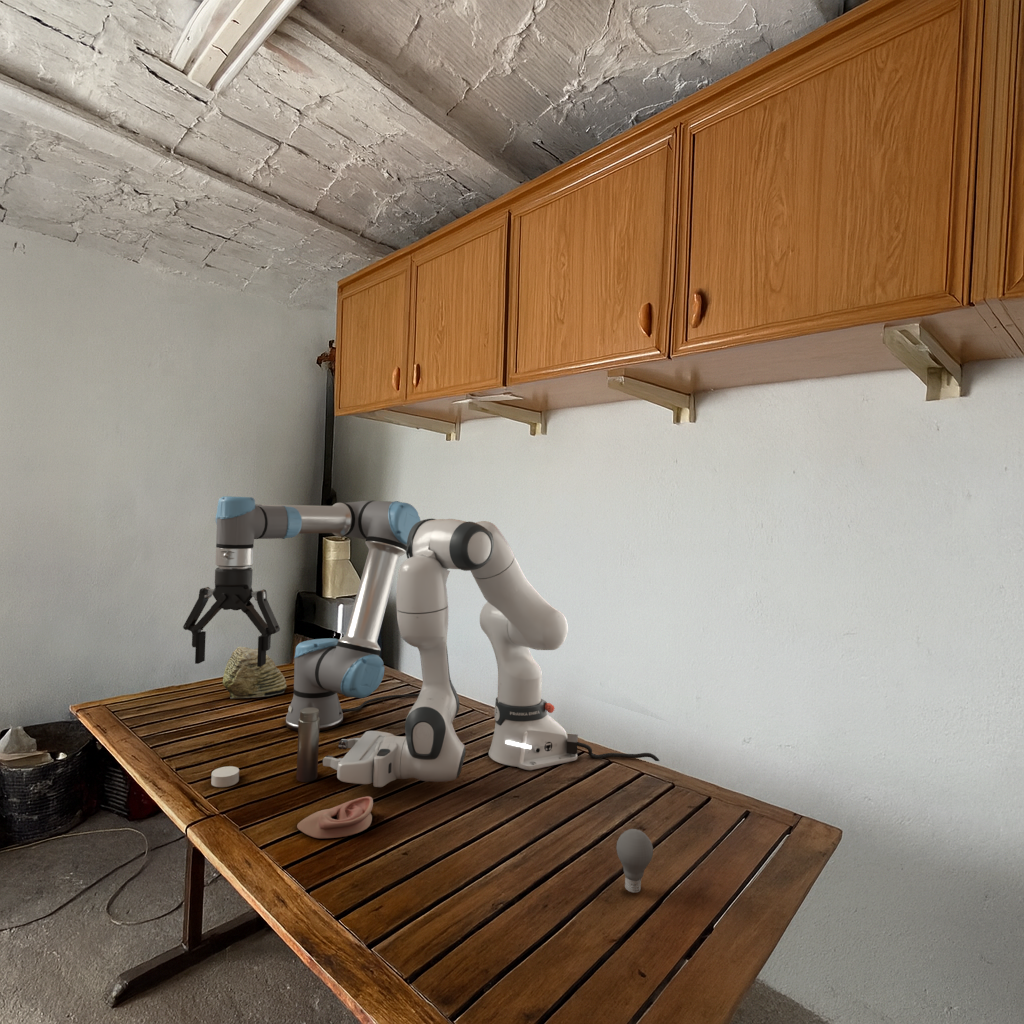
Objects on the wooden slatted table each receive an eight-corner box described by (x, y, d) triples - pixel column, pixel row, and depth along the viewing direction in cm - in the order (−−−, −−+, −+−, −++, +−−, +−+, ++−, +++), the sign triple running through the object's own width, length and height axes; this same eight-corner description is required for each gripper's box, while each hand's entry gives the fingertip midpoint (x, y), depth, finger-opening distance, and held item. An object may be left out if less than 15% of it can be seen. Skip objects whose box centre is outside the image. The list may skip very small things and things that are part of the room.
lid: (212, 777, 140) (213, 767, 140) (239, 775, 142) (240, 765, 142) (209, 788, 135) (210, 778, 135) (237, 785, 137) (238, 775, 137)
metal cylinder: (317, 780, 141) (320, 712, 141) (296, 783, 140) (299, 714, 139) (317, 772, 145) (319, 706, 145) (296, 774, 144) (298, 707, 144)
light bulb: (610, 879, 108) (613, 822, 108) (644, 879, 109) (647, 822, 109) (619, 902, 102) (622, 840, 102) (655, 901, 103) (658, 840, 103)
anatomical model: (288, 812, 118) (319, 786, 130) (288, 834, 118) (318, 805, 130) (354, 823, 116) (380, 795, 127) (354, 844, 116) (379, 814, 127)
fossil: (218, 695, 195) (220, 647, 195) (278, 685, 208) (279, 640, 207) (228, 703, 189) (230, 653, 188) (289, 692, 201) (290, 645, 201)
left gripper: (167, 566, 135) (164, 665, 135) (284, 571, 134) (280, 671, 135) (186, 562, 142) (183, 656, 143) (297, 567, 142) (293, 662, 142)
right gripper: (404, 726, 151) (348, 722, 152) (379, 761, 131) (314, 756, 132) (403, 752, 151) (347, 747, 153) (378, 791, 131) (313, 785, 132)
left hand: (230, 663), depth 139 cm, fingers open, 13 cm apart
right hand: (332, 752), depth 142 cm, fingers open, 8 cm apart
